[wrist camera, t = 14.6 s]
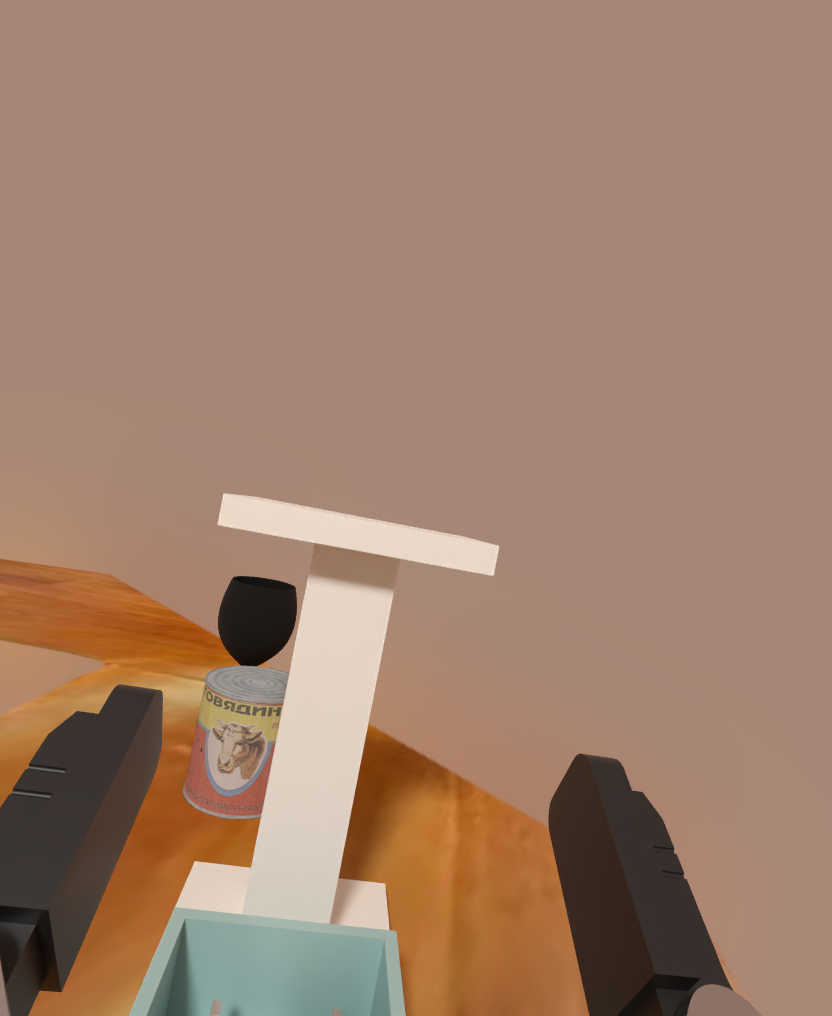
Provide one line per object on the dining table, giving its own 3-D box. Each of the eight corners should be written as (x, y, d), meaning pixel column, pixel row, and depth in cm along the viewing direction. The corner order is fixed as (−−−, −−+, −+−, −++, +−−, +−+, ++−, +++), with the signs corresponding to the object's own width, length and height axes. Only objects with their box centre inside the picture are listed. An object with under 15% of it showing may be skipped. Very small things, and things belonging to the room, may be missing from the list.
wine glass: (192, 709, 82) (220, 571, 82) (264, 710, 87) (290, 580, 87) (203, 741, 73) (234, 585, 73) (282, 739, 78) (311, 594, 78)
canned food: (165, 808, 57) (189, 688, 57) (203, 759, 68) (223, 659, 68) (278, 827, 57) (302, 708, 57) (297, 776, 68) (317, 676, 69)
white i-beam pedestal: (407, 1028, 37) (499, 546, 38) (121, 1003, 35) (223, 493, 36) (393, 902, 49) (463, 536, 50) (178, 878, 47) (254, 496, 48)
